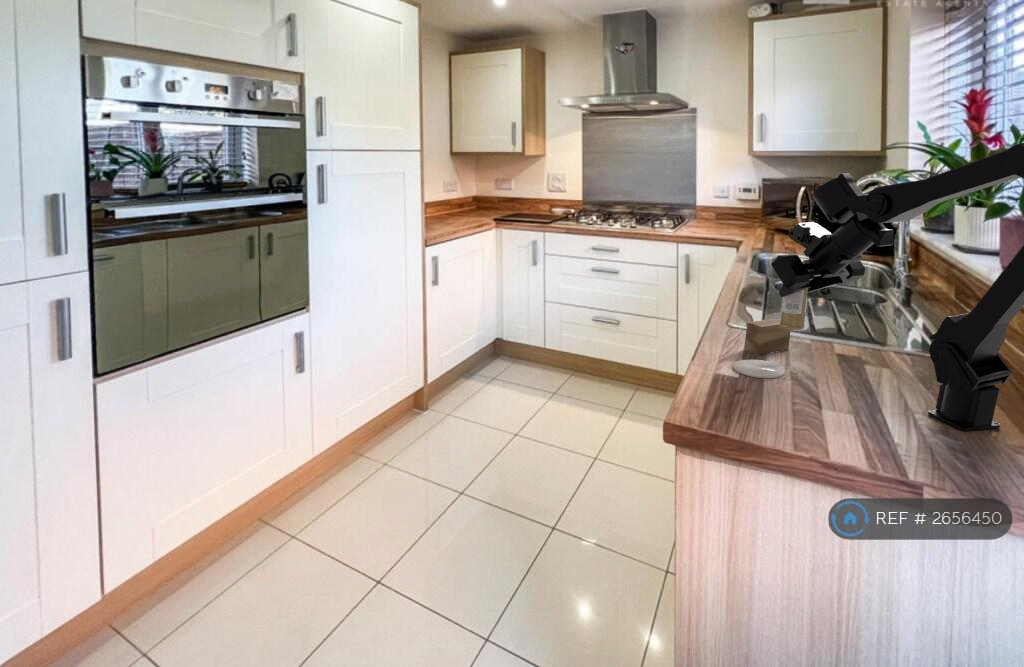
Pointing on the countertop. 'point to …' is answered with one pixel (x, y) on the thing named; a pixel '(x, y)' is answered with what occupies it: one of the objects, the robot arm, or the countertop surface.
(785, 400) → the countertop surface
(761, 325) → the walnut block
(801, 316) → the sprinkles bottle
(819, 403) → the countertop surface
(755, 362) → the stone coaster
